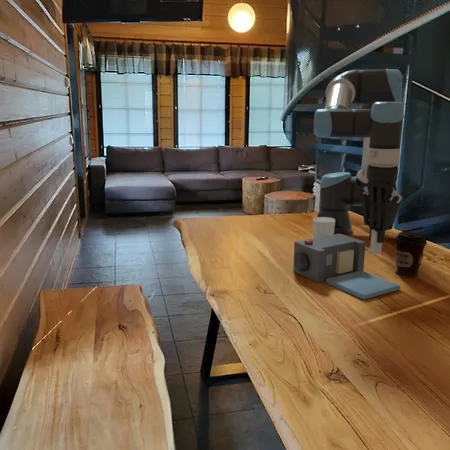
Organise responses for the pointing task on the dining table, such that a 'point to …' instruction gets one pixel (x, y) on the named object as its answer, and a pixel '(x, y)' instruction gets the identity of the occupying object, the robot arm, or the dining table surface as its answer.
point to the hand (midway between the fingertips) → (375, 253)
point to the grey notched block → (328, 256)
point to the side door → (363, 284)
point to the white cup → (323, 226)
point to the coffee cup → (409, 253)
